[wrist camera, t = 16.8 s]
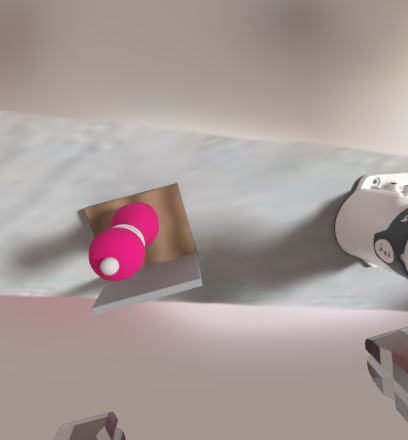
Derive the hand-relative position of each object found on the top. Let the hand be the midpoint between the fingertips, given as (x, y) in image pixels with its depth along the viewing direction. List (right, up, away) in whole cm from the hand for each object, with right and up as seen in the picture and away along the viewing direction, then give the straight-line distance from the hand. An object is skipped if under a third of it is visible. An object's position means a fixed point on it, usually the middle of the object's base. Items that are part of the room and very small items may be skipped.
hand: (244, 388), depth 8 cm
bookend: (-12, +3, +39) cm, 41 cm away
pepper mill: (-12, +5, +36) cm, 39 cm away
